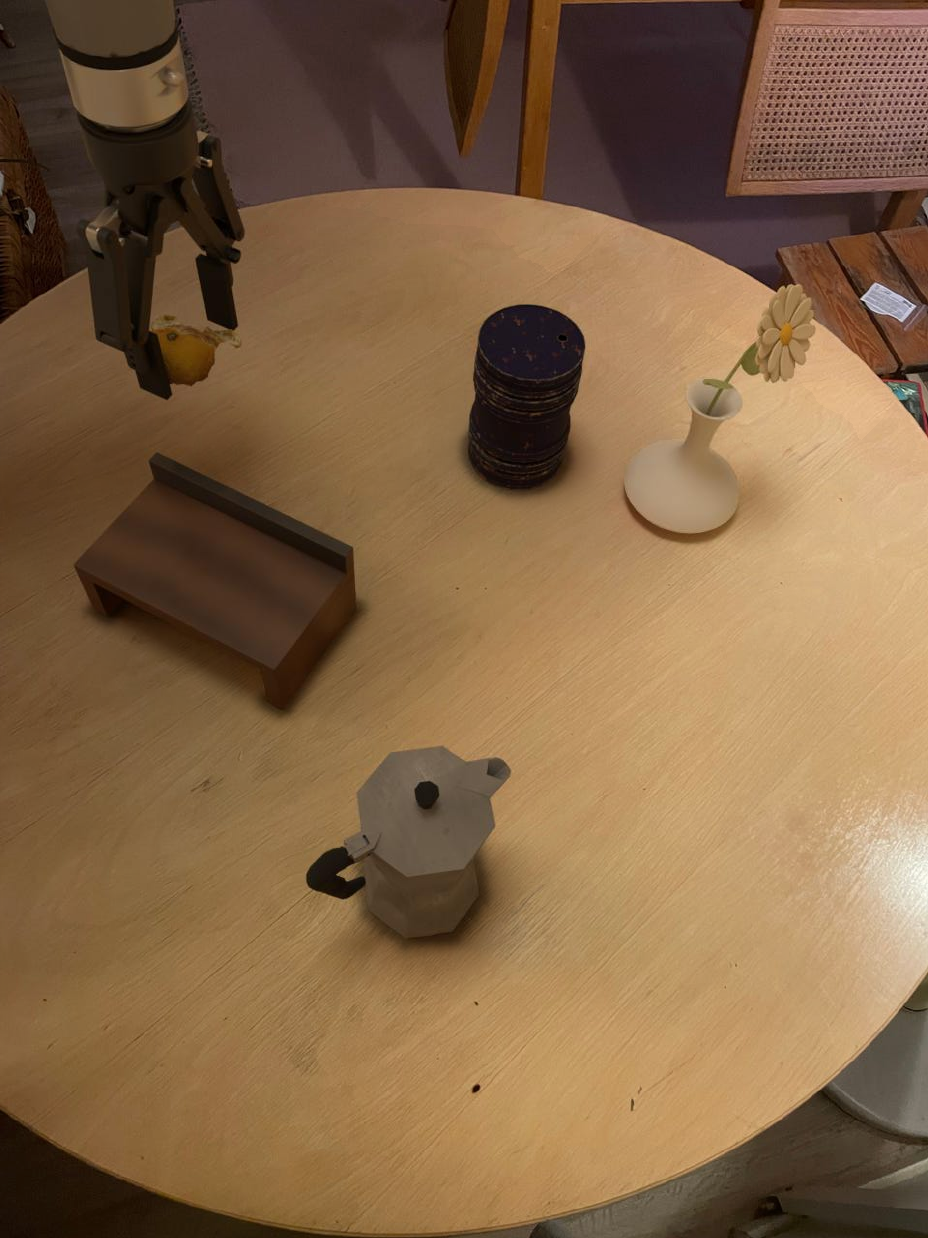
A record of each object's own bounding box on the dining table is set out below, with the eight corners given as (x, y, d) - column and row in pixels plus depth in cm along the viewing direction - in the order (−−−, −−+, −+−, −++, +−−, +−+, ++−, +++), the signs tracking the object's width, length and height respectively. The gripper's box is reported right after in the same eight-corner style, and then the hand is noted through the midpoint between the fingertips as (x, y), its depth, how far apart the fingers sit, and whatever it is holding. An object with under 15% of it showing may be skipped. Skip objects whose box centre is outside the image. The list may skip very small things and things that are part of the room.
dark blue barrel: (477, 496, 102) (489, 387, 89) (457, 422, 107) (465, 308, 94) (575, 484, 103) (600, 374, 90) (550, 411, 108) (571, 298, 96)
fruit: (249, 335, 90) (244, 301, 87) (215, 402, 86) (208, 369, 82) (158, 316, 91) (150, 282, 87) (120, 382, 86) (109, 349, 83)
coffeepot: (460, 792, 85) (475, 688, 70) (524, 889, 81) (554, 801, 66) (291, 887, 80) (267, 797, 65) (350, 996, 76) (339, 927, 61)
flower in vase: (656, 557, 99) (728, 363, 78) (600, 471, 104) (653, 268, 83) (770, 517, 102) (869, 321, 81) (710, 436, 108) (788, 232, 86)
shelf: (282, 710, 88) (271, 654, 80) (93, 609, 92) (65, 547, 84) (356, 608, 94) (353, 546, 86) (175, 517, 98) (156, 451, 90)
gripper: (74, 208, 63) (149, 456, 82) (271, 44, 73) (296, 297, 92) (-24, 168, 64) (72, 420, 83) (183, 12, 75) (226, 268, 94)
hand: (190, 356), depth 88 cm, fingers closed on fruit, 9 cm apart
